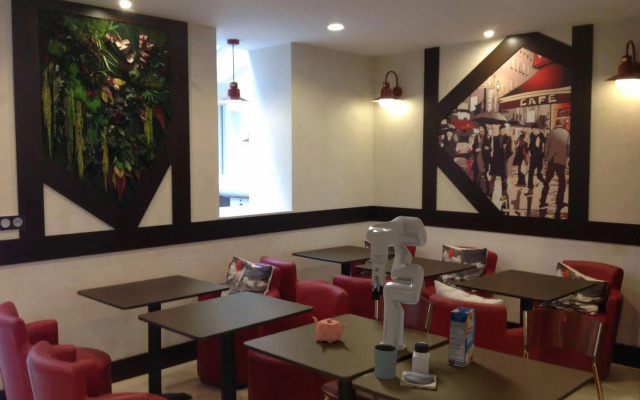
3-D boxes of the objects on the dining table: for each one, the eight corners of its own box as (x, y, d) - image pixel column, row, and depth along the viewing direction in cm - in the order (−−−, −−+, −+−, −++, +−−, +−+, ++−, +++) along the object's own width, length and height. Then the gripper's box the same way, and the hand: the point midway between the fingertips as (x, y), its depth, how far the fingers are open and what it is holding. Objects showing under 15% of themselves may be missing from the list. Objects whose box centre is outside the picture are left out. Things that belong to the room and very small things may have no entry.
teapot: (346, 344, 285) (347, 322, 284) (317, 345, 282) (318, 323, 281) (338, 335, 299) (339, 314, 298) (311, 336, 296) (312, 315, 295)
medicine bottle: (428, 374, 249) (430, 346, 248) (411, 372, 250) (413, 345, 250) (429, 368, 256) (430, 341, 255) (412, 366, 257) (413, 340, 257)
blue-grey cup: (390, 382, 239) (391, 353, 238) (368, 376, 244) (369, 348, 244) (400, 374, 248) (401, 346, 247) (379, 369, 253) (380, 342, 252)
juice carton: (457, 357, 272) (460, 306, 270) (473, 360, 268) (476, 309, 266) (447, 364, 262) (450, 311, 260) (464, 368, 258) (466, 314, 256)
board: (403, 373, 249) (403, 368, 249) (436, 377, 246) (436, 372, 246) (399, 385, 235) (400, 381, 235) (435, 390, 232) (435, 385, 232)
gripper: (384, 262, 245) (383, 302, 246) (390, 256, 262) (388, 294, 263) (367, 261, 247) (365, 301, 248) (373, 254, 264) (372, 292, 265)
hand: (377, 297), depth 256 cm, fingers open, 9 cm apart
